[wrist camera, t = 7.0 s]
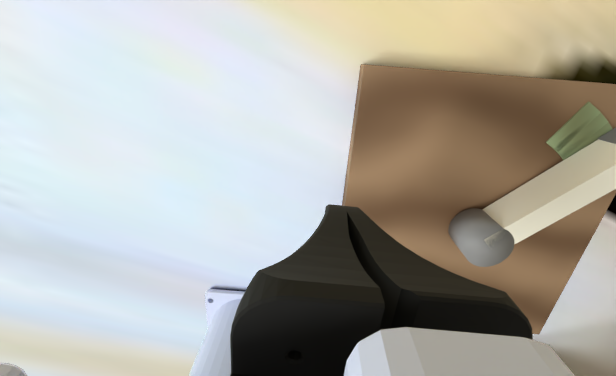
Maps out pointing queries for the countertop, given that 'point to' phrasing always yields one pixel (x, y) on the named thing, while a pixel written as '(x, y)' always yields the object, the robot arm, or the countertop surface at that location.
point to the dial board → (474, 166)
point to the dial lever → (536, 203)
